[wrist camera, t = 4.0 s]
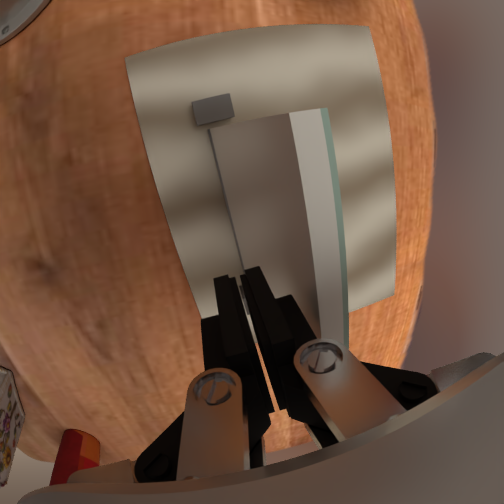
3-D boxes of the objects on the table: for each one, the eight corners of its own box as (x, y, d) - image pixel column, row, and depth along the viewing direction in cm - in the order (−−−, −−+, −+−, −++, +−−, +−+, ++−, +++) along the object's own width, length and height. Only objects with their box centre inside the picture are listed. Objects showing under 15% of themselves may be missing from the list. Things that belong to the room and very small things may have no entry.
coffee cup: (56, 439, 31) (43, 514, 17) (58, 417, 29) (40, 506, 15) (103, 456, 34) (98, 532, 20) (112, 438, 32) (106, 527, 18)
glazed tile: (206, 129, 18) (284, 113, 6) (223, 125, 19) (331, 107, 6) (244, 281, 23) (324, 422, 11) (258, 276, 24) (348, 411, 11)
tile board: (128, 61, 16) (117, 51, 13) (361, 29, 18) (381, 20, 15) (215, 345, 27) (218, 368, 25) (388, 289, 29) (404, 304, 26)
